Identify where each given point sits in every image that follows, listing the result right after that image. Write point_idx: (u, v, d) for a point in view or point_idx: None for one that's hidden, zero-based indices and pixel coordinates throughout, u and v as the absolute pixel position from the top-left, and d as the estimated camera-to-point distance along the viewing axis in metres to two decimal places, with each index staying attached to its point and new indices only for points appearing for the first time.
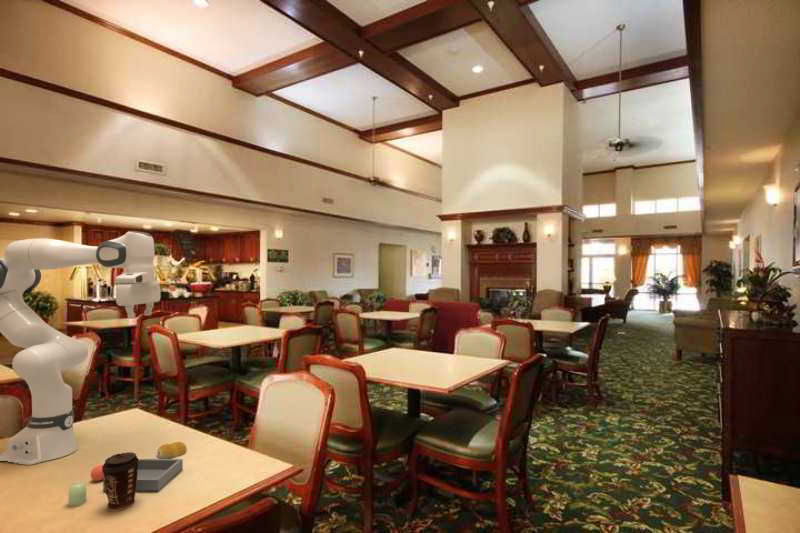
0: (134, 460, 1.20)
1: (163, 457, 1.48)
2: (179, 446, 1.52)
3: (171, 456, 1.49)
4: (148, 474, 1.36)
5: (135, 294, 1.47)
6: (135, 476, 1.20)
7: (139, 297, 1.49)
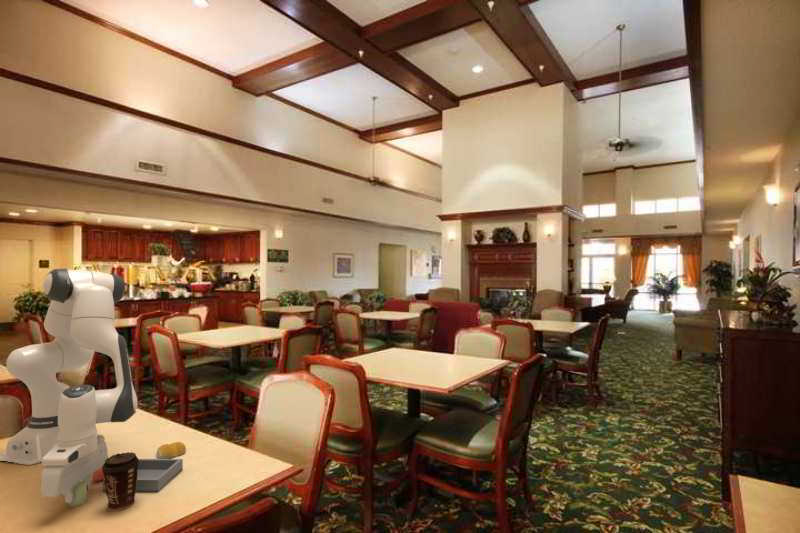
0: (134, 460, 1.20)
1: (162, 457, 1.48)
2: (178, 446, 1.52)
3: (170, 456, 1.49)
4: (148, 474, 1.36)
5: (68, 476, 1.15)
6: (135, 476, 1.20)
7: (74, 477, 1.17)
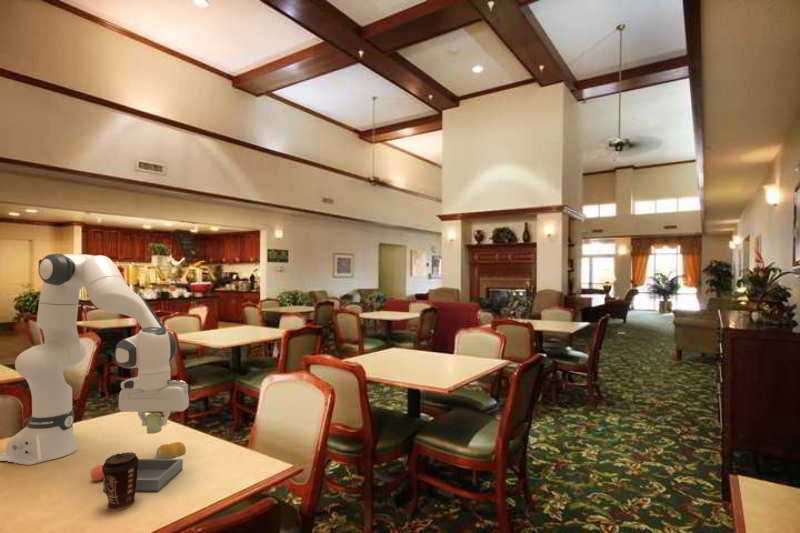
0: (134, 460, 1.20)
1: (162, 457, 1.48)
2: (178, 446, 1.52)
3: (170, 456, 1.49)
4: (148, 474, 1.36)
5: (133, 400, 1.33)
6: (135, 476, 1.20)
7: (139, 404, 1.33)
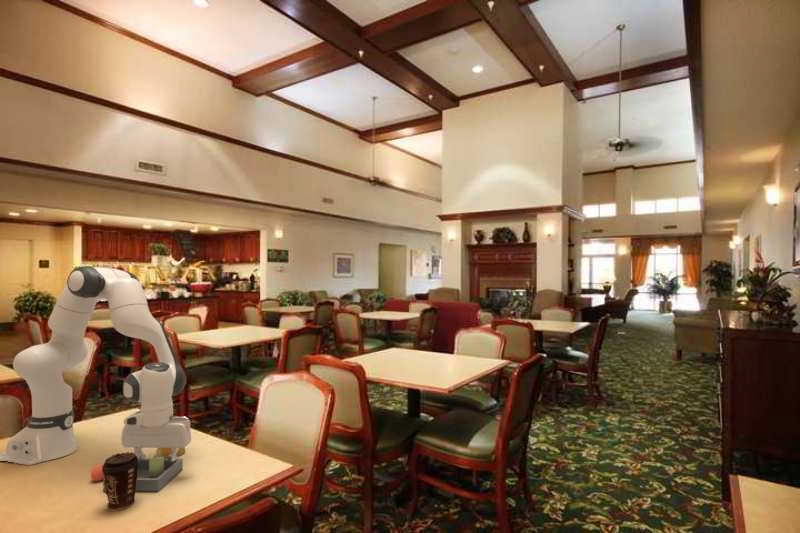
0: (134, 460, 1.20)
1: None
2: None
3: None
4: (148, 474, 1.36)
5: (135, 436, 1.34)
6: (135, 476, 1.20)
7: (142, 440, 1.34)
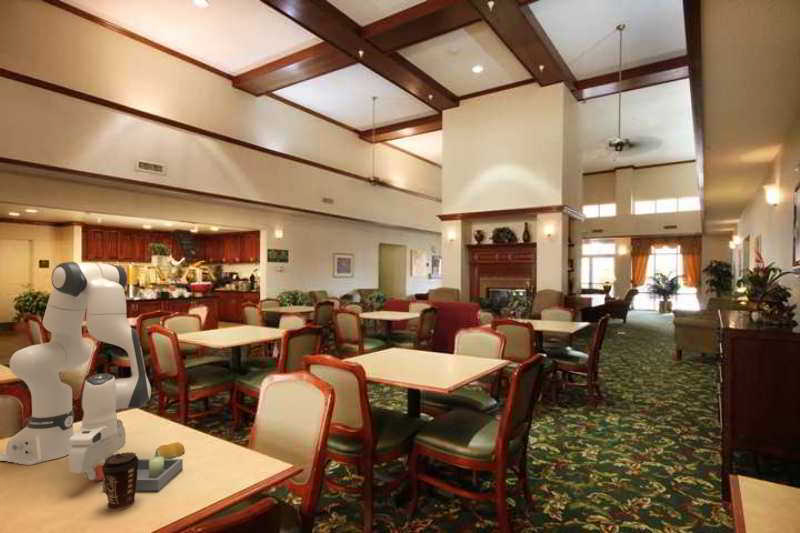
0: (134, 460, 1.20)
1: None
2: (177, 447, 1.51)
3: (169, 457, 1.48)
4: (148, 474, 1.36)
5: (92, 455, 1.28)
6: (135, 476, 1.20)
7: (97, 456, 1.30)
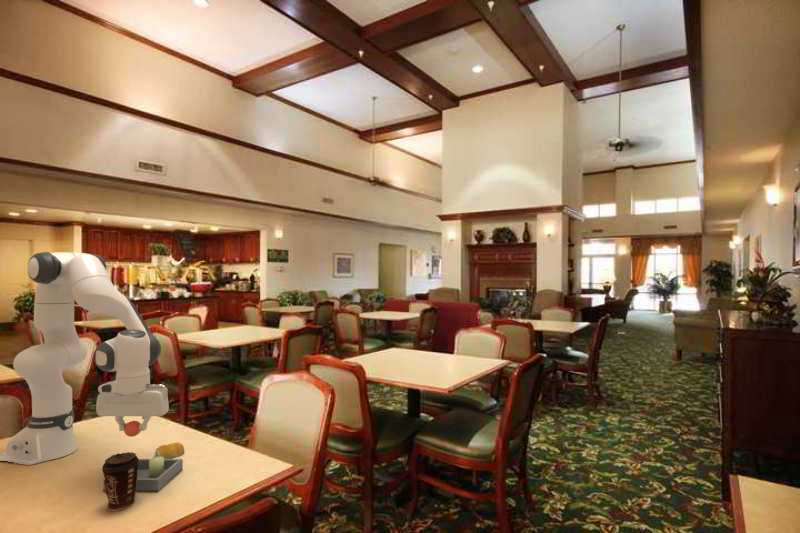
0: (134, 460, 1.20)
1: None
2: (177, 447, 1.51)
3: (169, 457, 1.48)
4: (148, 474, 1.36)
5: (111, 404, 1.30)
6: (135, 476, 1.20)
7: (117, 409, 1.30)
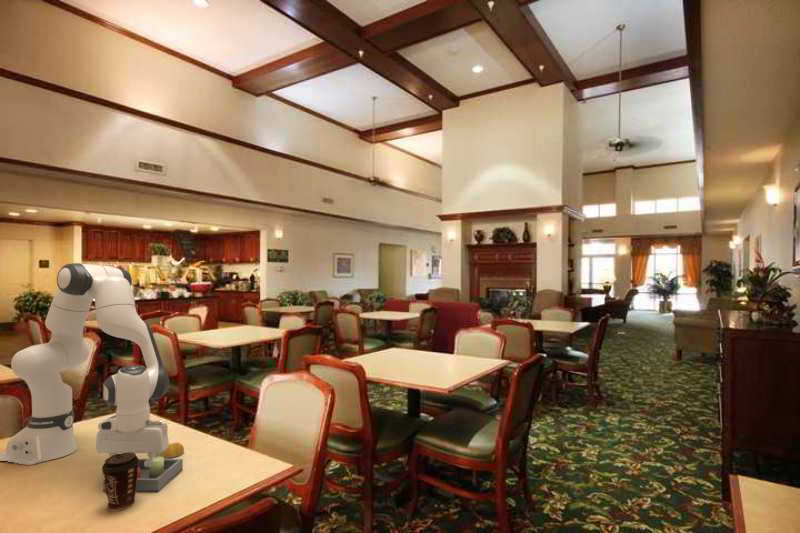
0: (134, 460, 1.20)
1: None
2: (176, 447, 1.51)
3: (169, 457, 1.48)
4: (148, 474, 1.36)
5: (111, 441, 1.30)
6: (135, 476, 1.20)
7: (117, 445, 1.30)
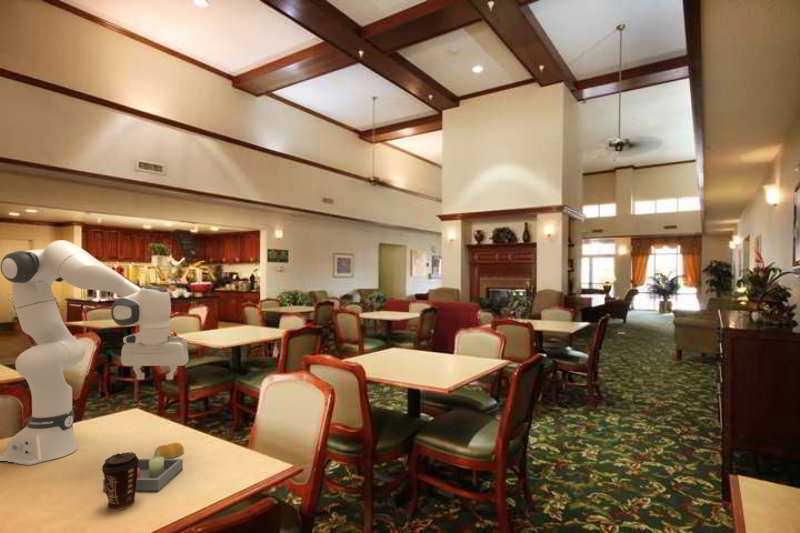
0: (134, 460, 1.20)
1: None
2: (176, 447, 1.51)
3: (168, 457, 1.48)
4: (148, 474, 1.36)
5: (135, 355, 1.39)
6: (135, 476, 1.20)
7: (141, 358, 1.39)
